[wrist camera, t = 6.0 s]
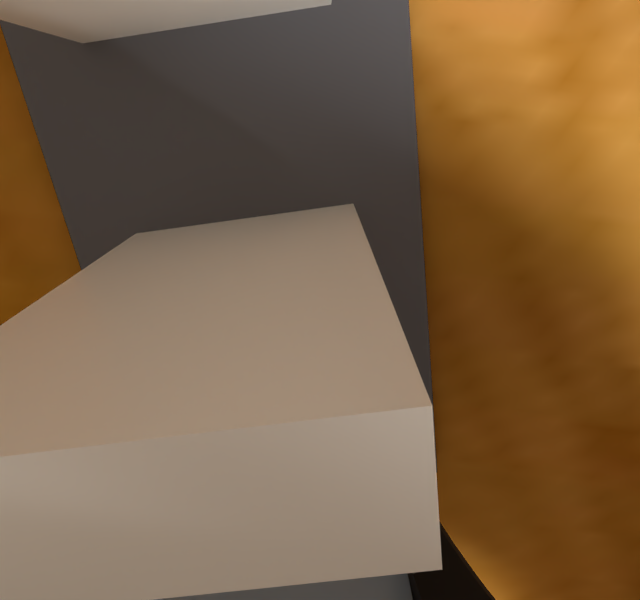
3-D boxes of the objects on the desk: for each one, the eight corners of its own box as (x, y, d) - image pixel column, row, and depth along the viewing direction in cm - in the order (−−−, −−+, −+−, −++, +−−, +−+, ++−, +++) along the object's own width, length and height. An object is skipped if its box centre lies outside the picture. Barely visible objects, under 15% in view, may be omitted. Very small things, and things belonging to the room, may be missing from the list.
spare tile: (382, 465, 13) (470, 942, 6) (199, 486, 13) (46, 972, 6) (376, 415, 12) (466, 873, 5) (185, 438, 13) (-4, 910, 5)
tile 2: (361, 271, 11) (442, 570, 4) (153, 298, 12) (-134, 629, 4) (353, 203, 11) (431, 406, 3) (136, 233, 11) (-235, 485, 4)
